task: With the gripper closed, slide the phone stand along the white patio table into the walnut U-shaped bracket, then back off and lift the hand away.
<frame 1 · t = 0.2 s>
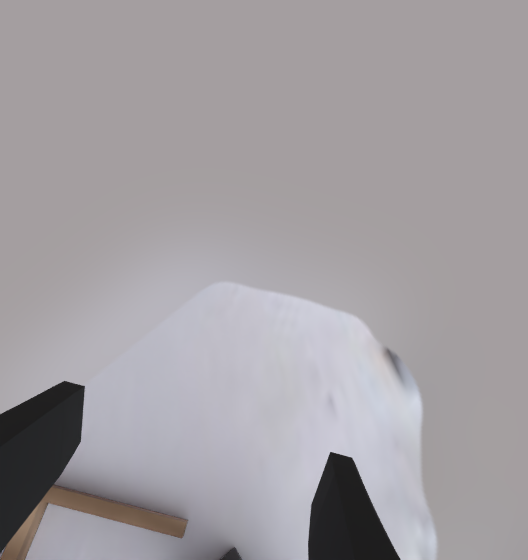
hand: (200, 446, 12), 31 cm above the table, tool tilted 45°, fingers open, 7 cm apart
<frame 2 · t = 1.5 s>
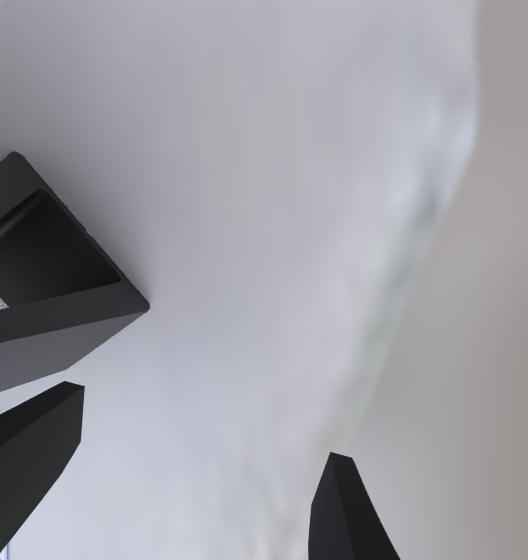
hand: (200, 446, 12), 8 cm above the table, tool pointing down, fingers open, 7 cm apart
phone stand: (50, 266, 20), on the table
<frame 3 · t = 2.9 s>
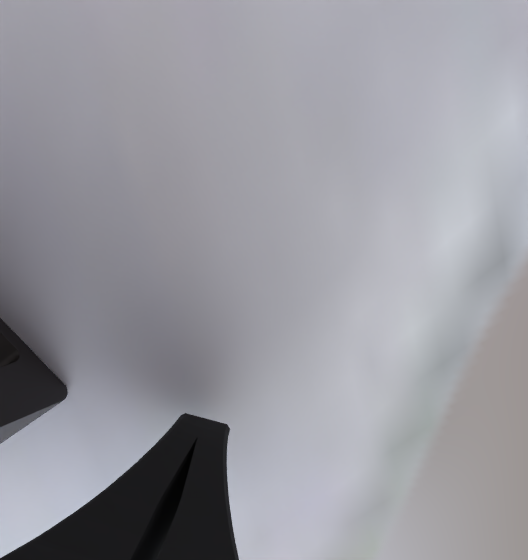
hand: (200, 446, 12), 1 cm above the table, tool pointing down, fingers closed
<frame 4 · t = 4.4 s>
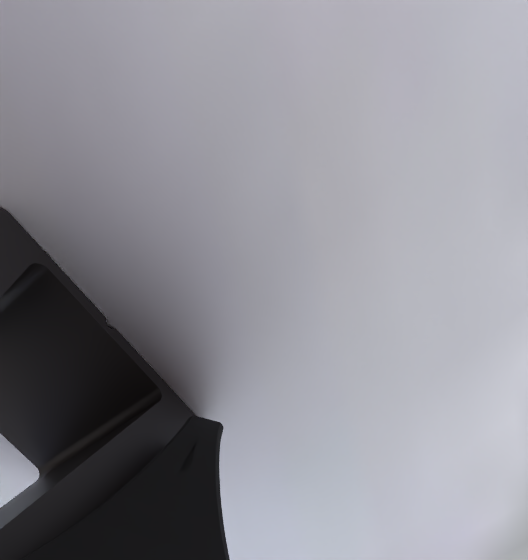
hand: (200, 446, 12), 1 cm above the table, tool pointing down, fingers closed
phone stand: (52, 367, 14), on the table, touching gripper
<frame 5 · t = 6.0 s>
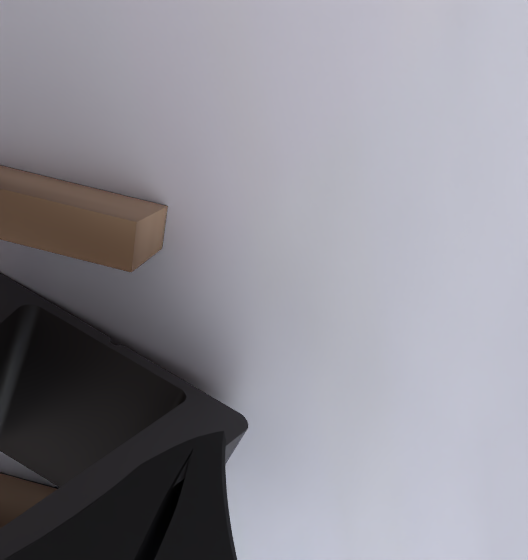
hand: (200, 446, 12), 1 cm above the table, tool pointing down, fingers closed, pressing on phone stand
phone stand: (90, 410, 13), on the table, touching gripper
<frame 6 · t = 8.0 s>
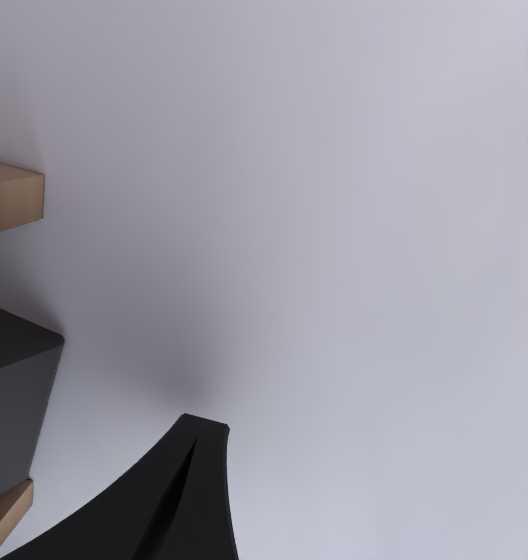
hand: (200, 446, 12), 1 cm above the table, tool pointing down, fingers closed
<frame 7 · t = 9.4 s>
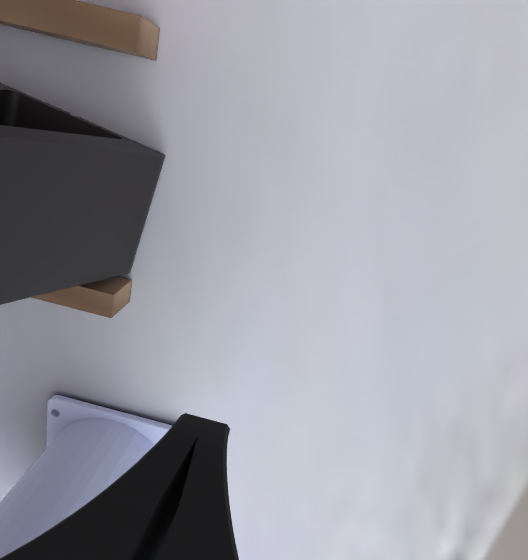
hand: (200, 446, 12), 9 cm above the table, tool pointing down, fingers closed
phone stand: (63, 177, 20), on the table
walnut bracket: (1, 145, 19), on the table
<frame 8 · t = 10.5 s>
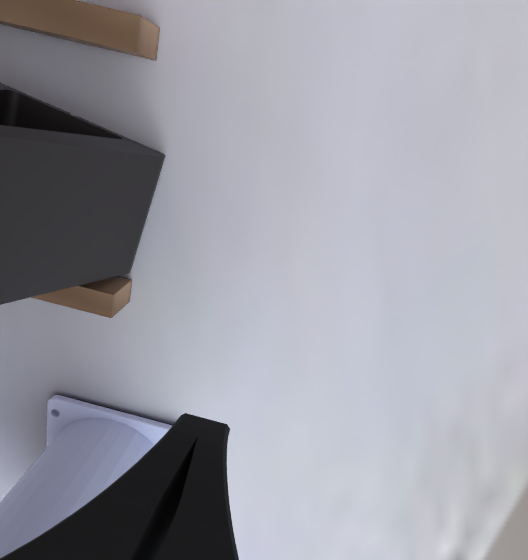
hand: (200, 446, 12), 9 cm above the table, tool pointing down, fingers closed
phone stand: (63, 177, 20), on the table
walnut bracket: (1, 145, 19), on the table
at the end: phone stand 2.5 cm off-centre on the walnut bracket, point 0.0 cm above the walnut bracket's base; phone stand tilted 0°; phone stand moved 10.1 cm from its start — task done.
